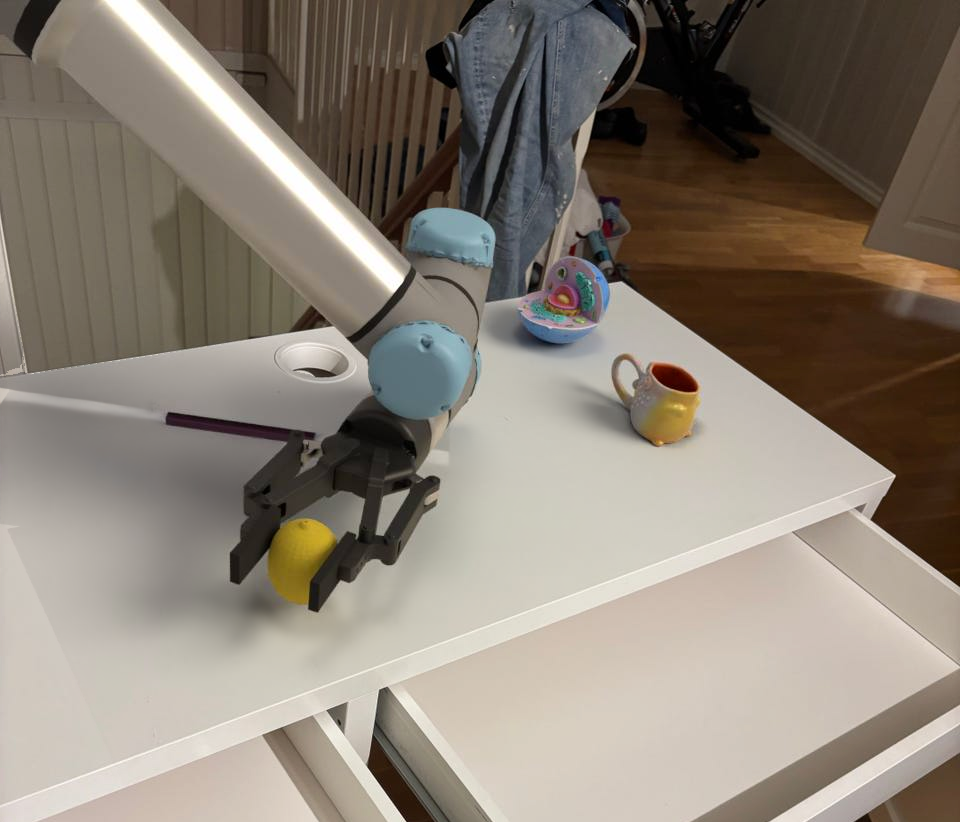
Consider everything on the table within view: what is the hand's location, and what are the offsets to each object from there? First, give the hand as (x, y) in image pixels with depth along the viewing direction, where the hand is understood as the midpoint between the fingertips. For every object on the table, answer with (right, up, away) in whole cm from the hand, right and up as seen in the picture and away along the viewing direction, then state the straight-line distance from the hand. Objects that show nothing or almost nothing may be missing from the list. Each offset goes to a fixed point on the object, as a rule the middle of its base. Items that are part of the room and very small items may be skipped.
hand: (274, 582), depth 69 cm
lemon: (0, -1, +8) cm, 8 cm away
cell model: (+24, +33, +50) cm, 65 cm away
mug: (+33, +21, +40) cm, 56 cm away
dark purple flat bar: (-8, +17, +26) cm, 33 cm away
